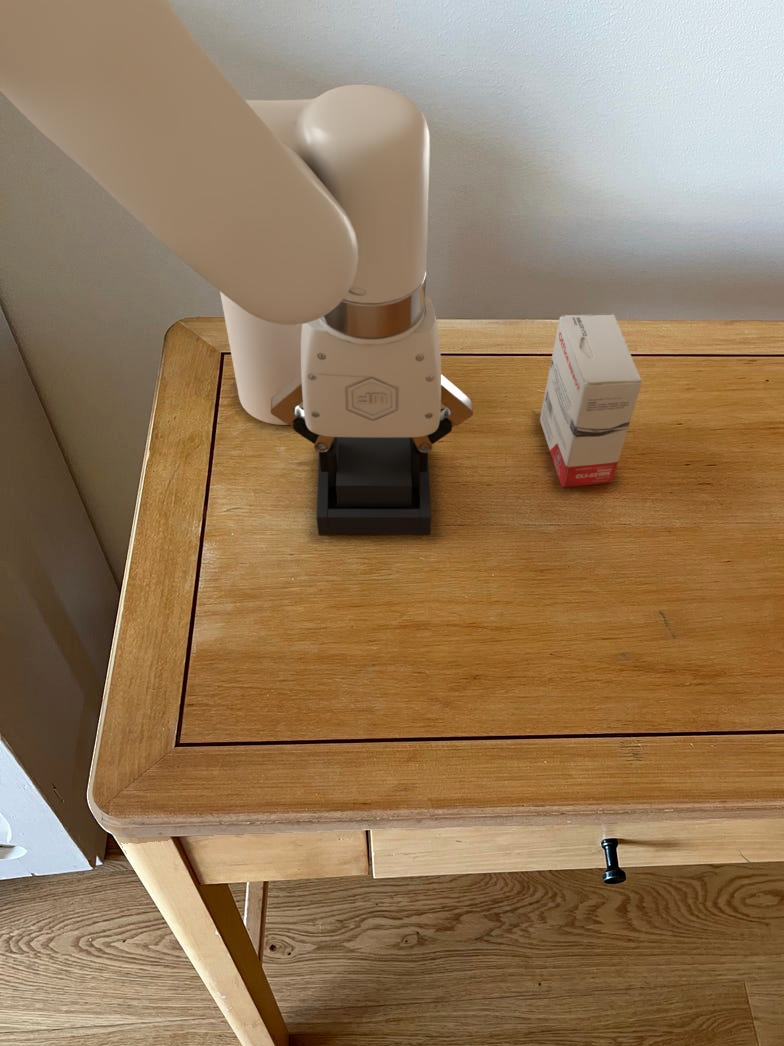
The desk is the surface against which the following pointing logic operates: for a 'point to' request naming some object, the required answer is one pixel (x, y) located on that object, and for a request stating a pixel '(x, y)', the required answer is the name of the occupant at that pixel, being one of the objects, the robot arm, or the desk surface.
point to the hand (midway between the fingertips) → (374, 473)
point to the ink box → (588, 398)
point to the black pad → (374, 472)
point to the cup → (261, 358)
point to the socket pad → (373, 512)
